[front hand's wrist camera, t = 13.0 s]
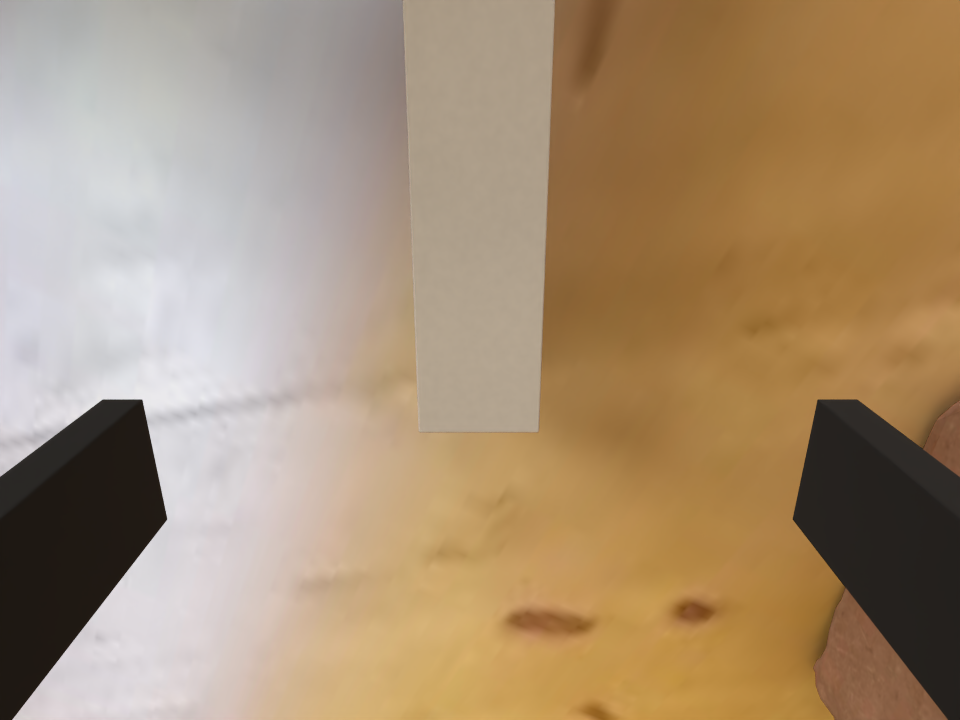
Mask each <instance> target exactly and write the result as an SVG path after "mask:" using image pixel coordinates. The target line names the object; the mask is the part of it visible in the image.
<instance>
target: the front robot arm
mask: <svg viewBox="0 0 960 720" xmlns="http://www.w3.org/2000/svg"><path fill="white" fill-rule="evenodd" d="M166 520H167V516H166V511H165V506H164V501H163V497H162V492H161V487H160V482H159V477H158V473H157V468H156V463H155V458H154V454H153V449H152V444H151V439H150V434H149V430H148V425H147V420H146V415H145V410H144V406H143V401H142V400H102V401H100V402H99V403H98V404H96V405H95V406H94V407H92V408H91V409H90V410H88V411H87V412H86V413H84V414H83V415H82V416H80V417H79V418H78V419H76V420H75V421H74V422H72V423H71V424H70V425H68V426H67V427H66V428H65V429H63V430H62V431H61V432H59V433H58V434H57V435H55V436H54V437H53V438H51V439H50V440H49V441H47V442H46V443H45V444H43V445H42V446H41V447H39V448H38V449H37V450H35V451H34V452H33V453H31V454H30V455H29V456H27V457H26V458H25V459H23V460H22V461H21V462H19V463H18V464H17V465H15V466H14V467H13V468H11V469H10V470H9V471H7V472H6V473H5V474H4V475H2V476H1V477H0V720H12V719H13V718H14V717H15V715H16V714H17V713H18V712H19V710H20V709H21V708H22V706H23V705H24V704H25V702H26V701H27V700H28V699H29V697H30V696H31V695H32V693H33V692H34V691H35V690H36V688H37V687H38V686H39V684H40V683H41V682H42V681H43V679H44V678H45V677H46V675H47V674H48V673H49V671H50V670H51V669H52V668H53V666H54V665H55V664H56V662H57V661H58V660H59V659H60V657H61V656H62V655H63V653H64V652H65V651H66V649H67V648H68V647H69V646H70V644H71V643H72V642H73V640H74V639H75V638H76V637H77V635H78V634H79V633H80V631H81V630H82V629H83V628H84V626H85V625H86V624H87V622H88V621H89V620H90V618H91V617H92V616H93V615H94V613H95V612H96V611H97V609H98V608H99V607H100V606H101V604H102V603H103V602H104V600H105V599H106V598H107V597H108V595H109V594H110V593H111V591H112V590H113V589H114V587H115V586H116V585H117V584H118V582H119V581H120V580H121V578H122V577H123V576H124V575H125V573H126V572H127V571H128V569H129V568H130V567H131V566H132V564H133V563H134V562H135V560H136V559H137V558H138V556H139V555H140V554H141V553H142V551H143V550H144V549H145V547H146V546H147V545H148V544H149V542H150V541H151V540H152V538H153V537H154V536H155V535H156V533H157V532H158V531H159V529H160V528H161V527H162V525H163V524H164V523H165V522H166ZM793 520H794V522H795V523H796V524H797V525H798V527H799V528H800V529H801V531H802V532H803V533H804V535H805V536H806V537H807V538H808V540H809V541H810V542H811V544H812V545H813V546H814V547H815V549H816V550H817V551H818V553H819V554H820V555H821V556H822V558H823V559H824V560H825V562H826V563H827V564H828V566H829V567H830V568H831V569H832V571H833V572H834V573H835V575H836V576H837V577H838V578H839V580H840V581H841V582H842V584H843V585H844V586H845V587H846V589H847V590H848V591H849V593H850V594H851V595H852V597H853V598H854V599H855V600H856V602H857V603H858V604H859V606H860V607H861V608H862V609H863V611H864V612H865V613H866V615H867V616H868V617H869V618H870V620H871V621H872V622H873V624H874V625H875V626H876V628H877V629H878V630H879V631H880V633H881V634H882V635H883V637H884V638H885V639H886V640H887V642H888V643H889V644H890V646H891V647H892V648H893V649H894V651H895V652H896V653H897V655H898V656H899V657H900V659H901V660H902V661H903V662H904V664H905V665H906V666H907V668H908V669H909V670H910V671H911V673H912V674H913V675H914V677H915V678H916V679H917V681H918V682H919V683H920V684H921V686H922V687H923V688H924V690H925V691H926V692H927V693H928V695H929V696H930V697H931V699H932V700H933V701H934V702H935V704H936V705H937V706H938V708H939V709H940V710H941V712H942V713H943V714H944V715H945V717H946V718H947V719H948V720H960V477H959V476H958V475H956V474H955V473H954V472H953V471H951V470H950V469H949V468H947V467H946V466H945V465H943V464H942V463H941V462H939V461H938V460H937V459H935V458H934V457H933V456H931V455H930V454H929V453H927V452H926V451H925V450H923V449H922V448H921V447H919V446H918V445H917V444H915V443H914V442H913V441H911V440H910V439H909V438H907V437H906V436H905V435H903V434H902V433H901V432H899V431H898V430H897V429H895V428H894V427H893V426H891V425H890V424H889V423H888V422H886V421H885V420H884V419H882V418H881V417H880V416H878V415H877V414H876V413H874V412H873V411H872V410H870V409H869V408H868V407H866V406H865V405H864V404H862V403H861V402H860V401H858V400H818V401H817V406H816V410H815V415H814V420H813V425H812V430H811V434H810V439H809V444H808V449H807V454H806V458H805V463H804V468H803V473H802V477H801V482H800V487H799V492H798V497H797V501H796V506H795V511H794V516H793Z"/></svg>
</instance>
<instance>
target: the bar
mask: <svg viewBox="0 0 960 720" xmlns="http://www.w3.org/2000/svg"><path fill="white" fill-rule="evenodd" d="M554 18H555V0H403V24H404V51H405V77H406V103H407V130H408V156H409V183H410V209H411V235H412V262H413V288H414V315H415V341H416V368H417V394H418V420H419V432H539V417H540V391H541V364H542V337H543V311H544V284H545V257H546V231H547V204H548V178H549V151H550V124H551V98H552V71H553V44H554Z"/></svg>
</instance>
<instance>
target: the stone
mask: <svg viewBox="0 0 960 720" xmlns="http://www.w3.org/2000/svg"><path fill="white" fill-rule="evenodd" d="M923 450H925V451H926V452H927V453H929V454H930V455H931V456H933V457H934V458H935V459H937V460H938V461H939V462H941V463H942V464H943V465H945V466H946V467H947V468H949V469H950V470H951V471H953V472H954V473H955V474H956V475H958V476H959V477H960V400H959V401H958V402H956V403H955V404H954V405H952V406H951V407H950V408H949V409H948V410H947V411H945V412H944V413H943V414H942V415H941V416H940V417H938V419H937V420H936V422H935V424H934V426H933V428H932V430H931V432H930V435H929V437H928V439H927V441H926V443H925V446H924V448H923ZM813 668H814V671H815V676H816V687H817V690H818V693H819V696H820V699H821V700H822V701H823V703H824V704H825V705H826V707H827V708H828V710H829V711H830V712H831V714H832V715H833V716H834V718H835V720H948V719H947V718H946V717H945V715H944V714H943V713H942V712H941V710H940V709H939V708H938V706H937V705H936V704H935V702H934V701H933V700H932V699H931V697H930V696H929V695H928V693H927V692H926V691H925V690H924V688H923V687H922V686H921V684H920V683H919V682H918V681H917V679H916V678H915V677H914V675H913V674H912V673H911V671H910V670H909V669H908V668H907V666H906V665H905V664H904V662H903V661H902V660H901V659H900V657H899V656H898V655H897V653H896V652H895V651H894V649H893V648H892V647H891V646H890V644H889V643H888V642H887V640H886V639H885V638H884V637H883V635H882V634H881V633H880V631H879V630H878V629H877V628H876V626H875V625H874V624H873V622H872V621H871V620H870V618H869V617H868V616H867V615H866V613H865V612H864V611H863V609H862V608H861V607H860V606H859V604H858V603H857V602H856V600H855V599H854V598H853V597H852V595H851V594H850V593H849V591H848V590H847V589H846V588H845V591H844V594H843V597H842V599H841V601H840V602H839V604H838V605H837V607H836V608H835V612H834V615H833V619H832V622H831V626H830V629H829V635H828V640H827V646H826V649H825V651H824V652H823V654H822V656H821V657H820V658H819V659H817V661H816V663H815V665H814V667H813Z"/></svg>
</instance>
